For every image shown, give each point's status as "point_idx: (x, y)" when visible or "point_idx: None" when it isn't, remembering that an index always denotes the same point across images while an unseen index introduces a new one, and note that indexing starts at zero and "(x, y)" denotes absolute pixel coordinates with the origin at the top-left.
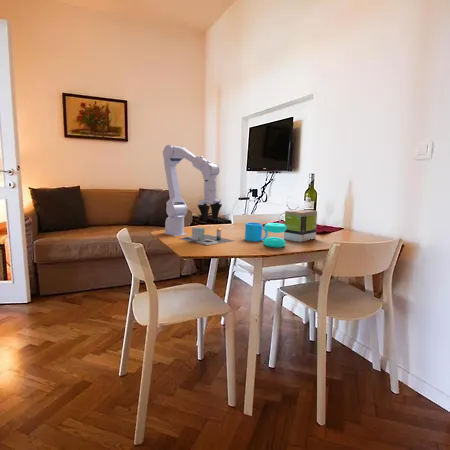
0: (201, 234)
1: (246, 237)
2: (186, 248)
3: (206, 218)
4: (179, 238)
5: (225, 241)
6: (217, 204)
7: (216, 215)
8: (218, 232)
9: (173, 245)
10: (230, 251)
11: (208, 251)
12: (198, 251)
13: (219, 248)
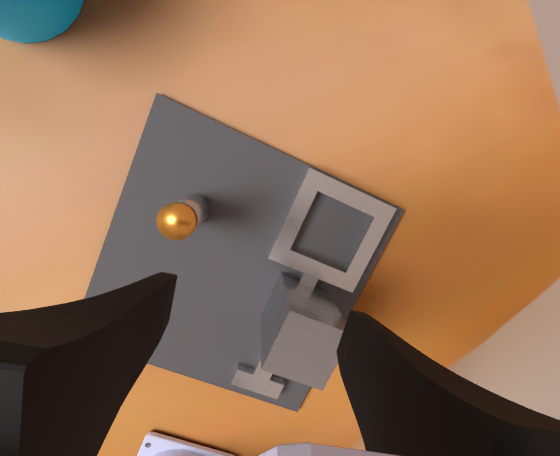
0: (309, 298)
1: (58, 1)
2: (485, 274)
3: (380, 324)
4: (287, 408)
5: (220, 147)
6: (24, 436)
7: (160, 292)
8: (200, 213)
9: (445, 355)
10: (468, 24)
11: (511, 146)
12: (528, 193)
13: (417, 116)
